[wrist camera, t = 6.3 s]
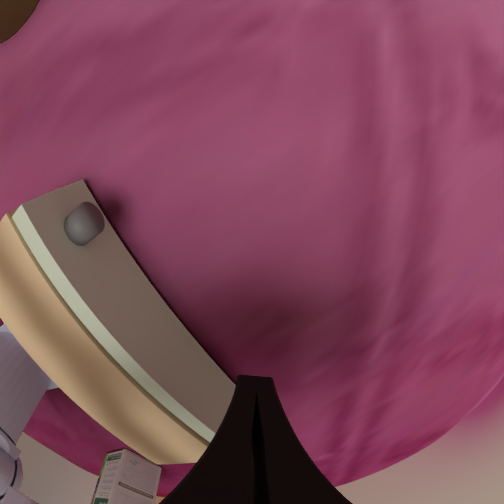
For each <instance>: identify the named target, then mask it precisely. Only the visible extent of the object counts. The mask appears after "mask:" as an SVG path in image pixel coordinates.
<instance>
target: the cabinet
mask: <svg viewBox="0 0 504 504" xmlns="http://www.w3.org/2000/svg"><path fill="white" fill-rule="evenodd" d="M18 208H19V207H18ZM18 208H16V209H14V210H12V211H10V212H8V213H6V214H5V216H4V217H3V218H2V220H1V221H0V318H1V319H2V321H3V322H4V324H5V325H6V326H7V328H8V329H9V330H10V332H11V333H12V334H13V336H14V337H15V338H16V339H17V341H18V342H19V343H20V344H21V346H22V347H23V348H24V349H25V351H26V352H27V353H28V354H29V355H30V357H31V358H32V359H33V360H34V361H35V362H36V363H37V365H38V366H39V367H40V368H41V369H42V370H43V371H44V372H45V373H46V374H47V375H48V376H49V378H50V379H51V380H52V381H53V382H54V383H55V384H56V385H57V386H58V387H59V388H60V389H61V390H62V391H63V392H64V393H65V394H66V395H67V396H69V397H70V398H71V399H72V400H73V401H74V402H75V403H76V404H77V405H78V406H79V407H80V408H82V409H83V410H84V411H85V412H86V413H87V414H88V415H90V416H91V417H92V418H93V419H94V420H96V421H97V422H98V423H99V424H100V425H102V426H103V427H104V428H105V429H107V430H108V431H109V432H111V433H112V434H113V435H114V436H116V437H117V438H118V439H120V440H121V441H123V442H124V443H125V444H127V445H128V446H130V447H131V448H132V449H134V450H135V451H137V452H138V453H140V454H141V455H143V456H144V457H146V458H147V459H149V460H150V461H152V462H154V463H155V464H180V463H194V462H197V461H198V460H199V459H200V457H201V456H202V454H203V453H204V452H205V450H206V449H207V447H208V445H209V444H210V442H209V441H207V440H206V439H204V438H203V437H202V436H200V435H199V434H198V433H196V432H195V431H194V430H192V429H191V428H190V427H189V426H187V425H186V424H185V423H184V422H182V421H181V420H180V419H179V418H177V417H176V416H175V415H174V414H173V413H171V412H170V411H169V410H168V409H167V408H165V407H164V406H163V405H162V404H161V403H160V402H159V401H157V400H156V399H155V398H154V397H153V396H152V395H151V394H150V393H149V392H147V391H146V390H145V389H144V388H143V387H142V386H141V385H140V384H139V383H138V382H137V381H136V380H135V379H134V378H133V377H132V376H131V375H130V374H129V373H128V372H127V371H126V370H125V369H124V368H123V367H122V366H121V365H120V364H119V363H118V362H117V361H116V360H115V359H114V358H113V357H112V356H111V355H110V354H109V353H108V352H107V351H106V349H105V348H104V347H103V346H102V345H101V344H100V343H99V342H98V341H97V339H96V338H95V337H94V336H93V335H92V334H91V332H90V331H89V330H88V329H87V328H86V327H85V325H84V324H83V323H82V322H81V321H80V319H79V318H78V317H77V316H76V314H75V313H74V312H73V310H72V309H71V308H70V307H69V305H68V304H67V303H66V301H65V300H64V299H63V297H62V296H61V295H60V293H59V292H58V291H57V289H56V288H55V286H54V285H53V284H52V282H51V281H50V279H49V278H48V276H47V275H46V273H45V272H44V270H43V269H42V267H41V266H40V264H39V263H38V261H37V260H36V258H35V257H34V255H33V253H32V252H31V250H30V248H29V247H28V245H27V243H26V242H25V240H24V238H23V237H22V235H21V233H20V231H19V230H18V228H17V226H16V224H15V222H14V220H13V219H12V216H13V215H14V213H15V212H16V211H17V209H18Z"/></svg>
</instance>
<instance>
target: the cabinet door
mask: <svg viewBox="0 0 504 504" xmlns="http://www.w3.org/2000/svg"><path fill="white" fill-rule="evenodd" d="M12 219H13V220H14V222H15V224H16V226H17V228H18V230H19V231H20V233H21V235H22V237H23V238H24V240H25V242H26V243H27V245H28V247H29V248H30V250H31V252H32V253H33V255H34V257H35V258H36V260H37V261H38V263H39V264H40V266H41V267H42V269H43V270H44V272H45V273H46V275H47V276H48V278H49V279H50V281H51V282H52V284H53V285H54V286H55V288H56V289H57V291H58V292H59V293H60V295H61V296H62V297H63V299H64V300H65V301H66V303H67V304H68V305H69V307H70V308H71V309H72V310H73V312H74V313H75V314H76V316H77V317H78V318H79V319H80V321H81V322H82V323H83V324H84V325H85V327H86V328H87V329H88V330H89V331H90V332H91V334H92V335H93V336H94V337H95V338H96V339H97V341H98V342H99V343H100V344H101V345H102V346H103V347H104V348H105V349H106V351H107V352H108V353H109V354H110V355H111V356H112V357H113V358H114V359H115V360H116V361H117V362H118V363H119V364H120V365H121V366H122V367H123V368H124V369H125V370H126V371H127V372H128V373H129V374H130V375H131V376H132V377H133V378H134V379H135V380H136V381H137V382H138V383H139V384H140V385H141V386H142V387H143V388H144V389H145V390H146V391H147V392H149V393H150V394H151V395H152V396H153V397H154V398H155V399H156V400H157V401H159V402H160V403H161V404H162V405H163V406H164V407H165V408H167V409H168V410H169V411H170V412H171V413H173V414H174V415H175V416H176V417H177V418H179V419H180V420H181V421H182V422H184V423H185V424H186V425H187V426H189V427H190V428H191V429H192V430H194V431H195V432H196V433H198V434H199V435H200V436H202V437H203V438H204V439H206V440H207V441H209V442H211V441H212V439H213V437H214V436H215V434H216V432H217V430H218V428H219V426H220V424H221V423H222V421H223V419H224V417H225V414H226V412H227V410H228V407H229V405H230V403H231V400H232V397H233V394H234V391H235V387H236V385H235V384H234V383H233V382H232V381H231V380H230V379H229V378H228V376H227V375H226V374H225V373H224V372H223V371H222V370H221V369H220V368H219V367H218V365H217V364H216V363H215V362H214V361H213V360H212V359H211V358H210V356H209V355H208V354H207V353H206V352H205V351H204V349H203V348H202V347H201V346H200V345H199V344H198V342H197V341H196V340H195V339H194V338H193V336H192V335H191V334H190V333H189V332H188V330H187V329H186V328H185V327H184V326H183V324H182V323H181V322H180V321H179V319H178V318H177V317H176V316H175V314H174V313H173V312H172V310H171V309H170V308H169V307H168V305H167V304H166V303H165V301H164V300H163V299H162V298H161V296H160V295H159V294H158V292H157V291H156V290H155V288H154V287H153V286H152V284H151V283H150V282H149V280H148V279H147V277H146V276H145V275H144V273H143V272H142V271H141V269H140V268H139V266H138V265H137V263H136V262H135V261H134V259H133V258H132V256H131V255H130V253H129V252H128V251H127V249H126V248H125V246H124V245H123V243H122V242H121V240H120V239H119V237H118V236H117V234H116V233H115V231H114V230H113V228H112V226H111V225H110V223H109V222H108V220H107V219H106V217H105V215H104V214H103V212H102V211H101V209H100V207H99V206H98V204H97V203H96V201H95V199H94V198H93V196H92V194H91V193H90V191H89V189H88V187H87V186H86V184H85V182H84V181H83V179H82V180H79V181H76V182H74V183H71V184H68V185H66V186H63V187H61V188H58V189H56V190H53V191H51V192H48V193H46V194H43V195H41V196H39V197H36V198H34V199H32V200H30V201H27V202H25V203H23V204H21V205H20V207H19V208H18V209H17V211H16V212H15V213H14V215H13V216H12Z"/></svg>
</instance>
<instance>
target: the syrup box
mask: <svg viewBox="0 0 504 504" xmlns="http://www.w3.org/2000/svg"><path fill="white" fill-rule="evenodd" d="M160 474H161V467H160V466H158V465H156V464H154V463H152V462H151V461H149V460H147V459H145V458H143V457H141V456H139V455H137V454H135V453H133V452H131V451H129V450H127V449H123V450H120V451H116V452H112V453H108V454H106V456H105V460H104V463H103V466H102V469H101V472H100V475H99V479H98V482H97V485H96V488H95V491H94V495H93V498H92V502H91V504H155V499H156V494H157V489H158V484H159V479H160Z"/></svg>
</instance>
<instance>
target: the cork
mask: <svg viewBox="0 0 504 504" xmlns="http://www.w3.org/2000/svg"><path fill="white" fill-rule="evenodd" d="M38 1H39V0H0V43H1V42H3V41H5V40H8V39H9V38H10V37H11V36H12V35H14V34H15V33H16V32H17V31H18V30H19V29H20V27H21V26H22V25H23V24H24V23H25V22H26V20H27V19H28V17H29V16H30V15H31V13H32V12H33V10H34V8H35V7H36V5H37V3H38Z"/></svg>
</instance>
